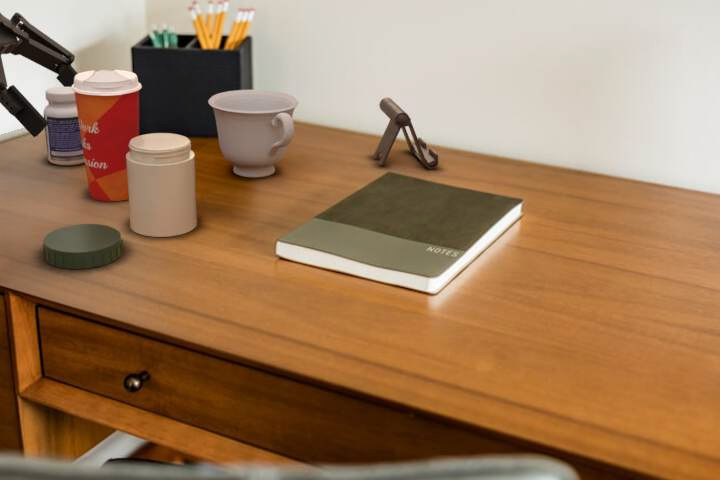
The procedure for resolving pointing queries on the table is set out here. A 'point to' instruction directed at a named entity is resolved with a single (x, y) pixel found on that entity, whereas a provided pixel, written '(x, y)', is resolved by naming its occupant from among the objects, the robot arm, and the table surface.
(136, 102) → the coffee cup
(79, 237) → the jar lid
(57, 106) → the pill bottle
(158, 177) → the jar
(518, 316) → the table surface
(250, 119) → the teacup
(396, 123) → the tablet stand
